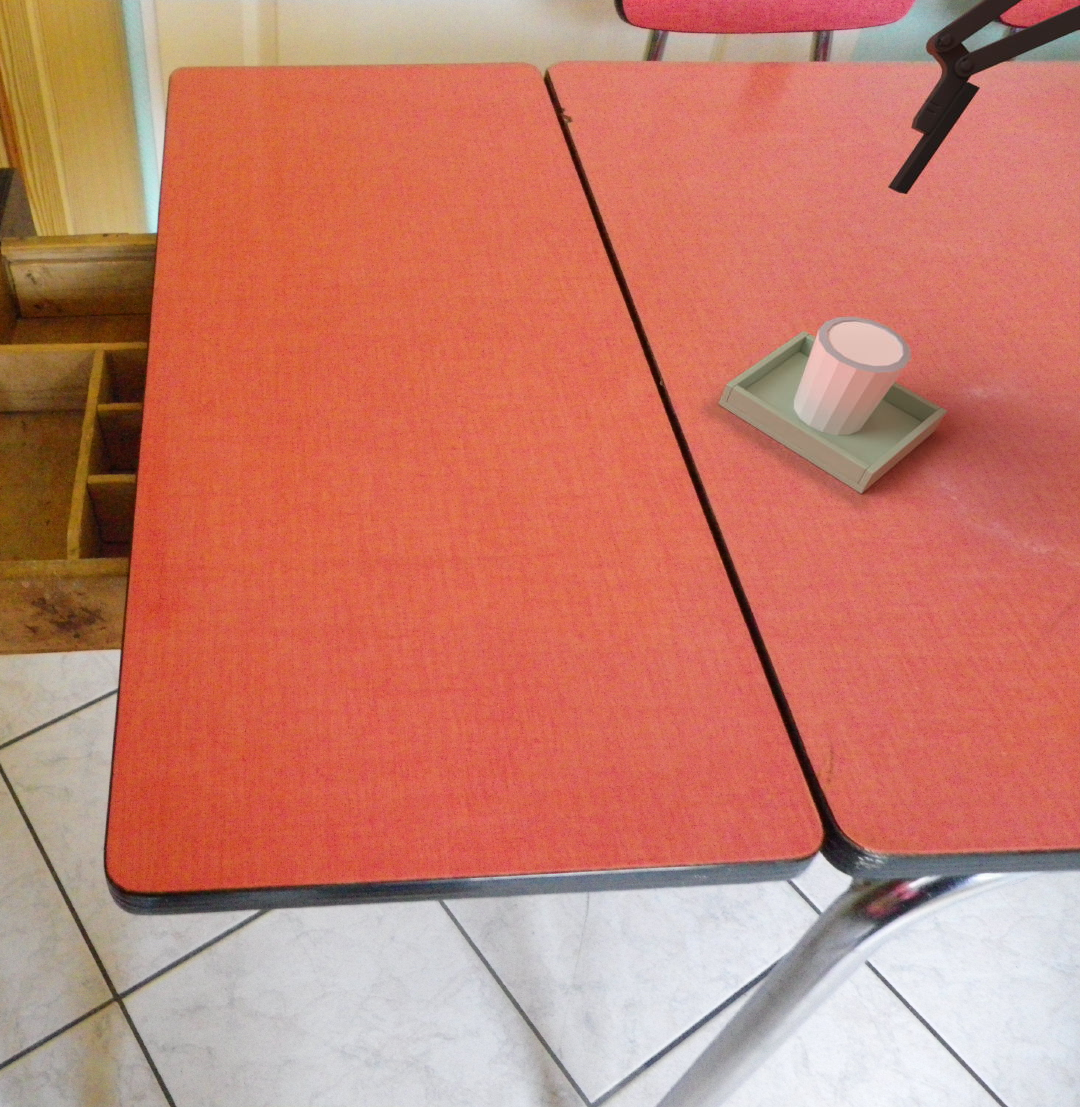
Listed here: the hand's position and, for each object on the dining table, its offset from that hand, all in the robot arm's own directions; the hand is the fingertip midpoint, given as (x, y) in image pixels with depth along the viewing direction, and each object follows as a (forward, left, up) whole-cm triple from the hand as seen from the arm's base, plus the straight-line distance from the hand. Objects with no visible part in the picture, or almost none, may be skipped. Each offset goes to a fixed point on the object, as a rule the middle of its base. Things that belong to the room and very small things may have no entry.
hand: (997, 242), depth 63 cm
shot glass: (+6, -4, -20) cm, 22 cm away
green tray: (+6, -4, -21) cm, 22 cm away
